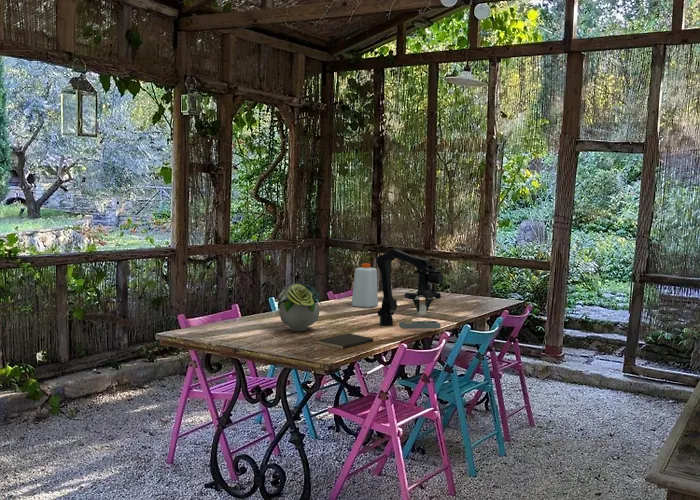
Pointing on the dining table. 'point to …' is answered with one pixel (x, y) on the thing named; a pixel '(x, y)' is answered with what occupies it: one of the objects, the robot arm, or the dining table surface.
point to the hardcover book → (345, 341)
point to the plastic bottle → (365, 287)
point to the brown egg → (407, 320)
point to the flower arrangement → (298, 306)
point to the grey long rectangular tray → (419, 324)
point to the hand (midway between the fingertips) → (422, 311)
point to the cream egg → (422, 309)
